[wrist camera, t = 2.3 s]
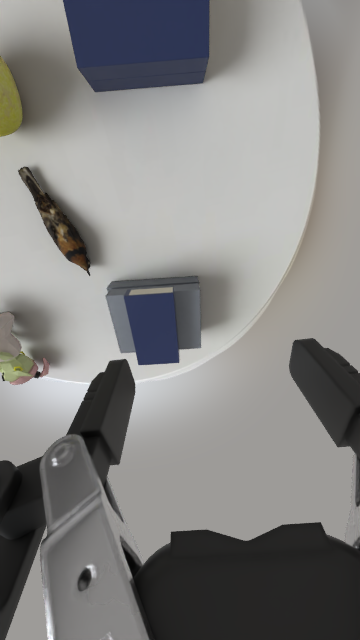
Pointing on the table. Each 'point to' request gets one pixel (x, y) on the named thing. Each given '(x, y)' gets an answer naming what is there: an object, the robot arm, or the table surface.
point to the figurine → (15, 356)
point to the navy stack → (139, 42)
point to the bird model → (57, 223)
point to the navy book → (153, 324)
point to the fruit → (8, 102)
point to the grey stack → (184, 305)
